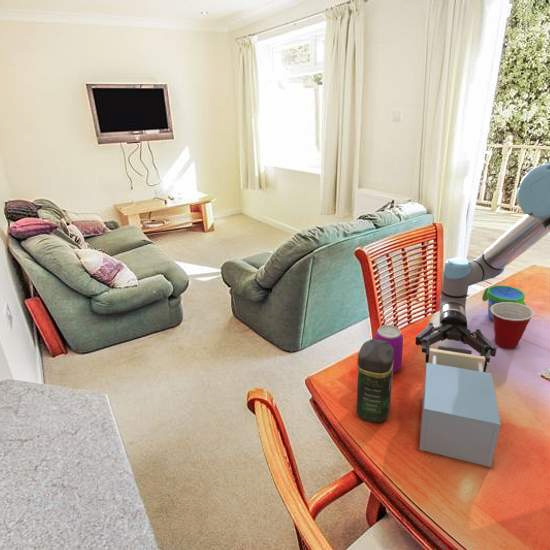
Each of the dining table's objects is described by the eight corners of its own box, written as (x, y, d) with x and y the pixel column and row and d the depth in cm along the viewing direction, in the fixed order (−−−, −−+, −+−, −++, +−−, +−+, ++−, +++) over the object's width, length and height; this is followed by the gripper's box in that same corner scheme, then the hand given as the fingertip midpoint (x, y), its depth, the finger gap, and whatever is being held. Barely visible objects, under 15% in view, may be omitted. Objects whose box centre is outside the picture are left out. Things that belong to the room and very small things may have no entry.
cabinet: (422, 400, 95) (426, 362, 90) (483, 412, 90) (491, 373, 85) (419, 449, 82) (424, 408, 77) (491, 467, 77) (500, 424, 72)
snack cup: (533, 328, 120) (540, 300, 115) (503, 333, 118) (509, 305, 114) (498, 305, 134) (503, 280, 130) (471, 310, 132) (475, 284, 128)
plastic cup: (484, 331, 120) (490, 298, 115) (523, 337, 116) (531, 303, 111) (484, 350, 112) (491, 315, 107) (527, 357, 107) (536, 321, 102)
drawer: (427, 365, 106) (430, 335, 102) (477, 373, 101) (482, 343, 97) (424, 417, 89) (428, 384, 85) (484, 430, 84) (491, 396, 80)
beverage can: (406, 364, 108) (409, 329, 103) (392, 378, 103) (395, 342, 98) (382, 354, 113) (383, 320, 108) (368, 367, 108) (369, 332, 103)
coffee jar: (386, 427, 88) (390, 363, 80) (353, 418, 91) (354, 356, 84) (393, 400, 96) (397, 339, 88) (362, 392, 99) (363, 333, 92)
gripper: (497, 337, 110) (508, 384, 92) (409, 325, 119) (403, 366, 102) (501, 315, 107) (514, 359, 89) (410, 305, 116) (405, 343, 99)
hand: (455, 363), depth 95 cm, fingers closed on drawer, 13 cm apart
